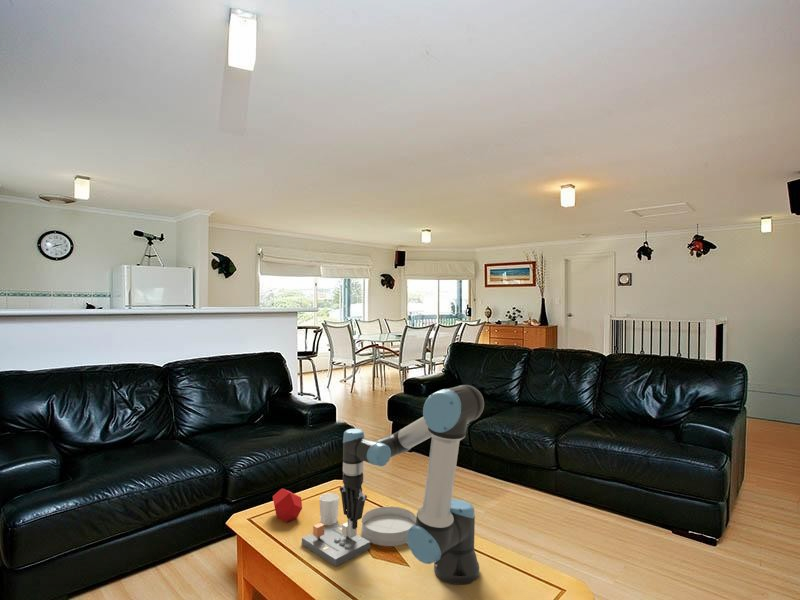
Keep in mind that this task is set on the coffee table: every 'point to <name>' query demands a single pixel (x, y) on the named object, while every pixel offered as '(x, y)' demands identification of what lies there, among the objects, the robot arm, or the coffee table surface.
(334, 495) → the white cup
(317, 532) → the fader
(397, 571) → the coffee table surface
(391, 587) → the coffee table surface
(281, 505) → the red faceted polyhedron
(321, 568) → the coffee table surface
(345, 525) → the cream block
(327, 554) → the console
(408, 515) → the dish
